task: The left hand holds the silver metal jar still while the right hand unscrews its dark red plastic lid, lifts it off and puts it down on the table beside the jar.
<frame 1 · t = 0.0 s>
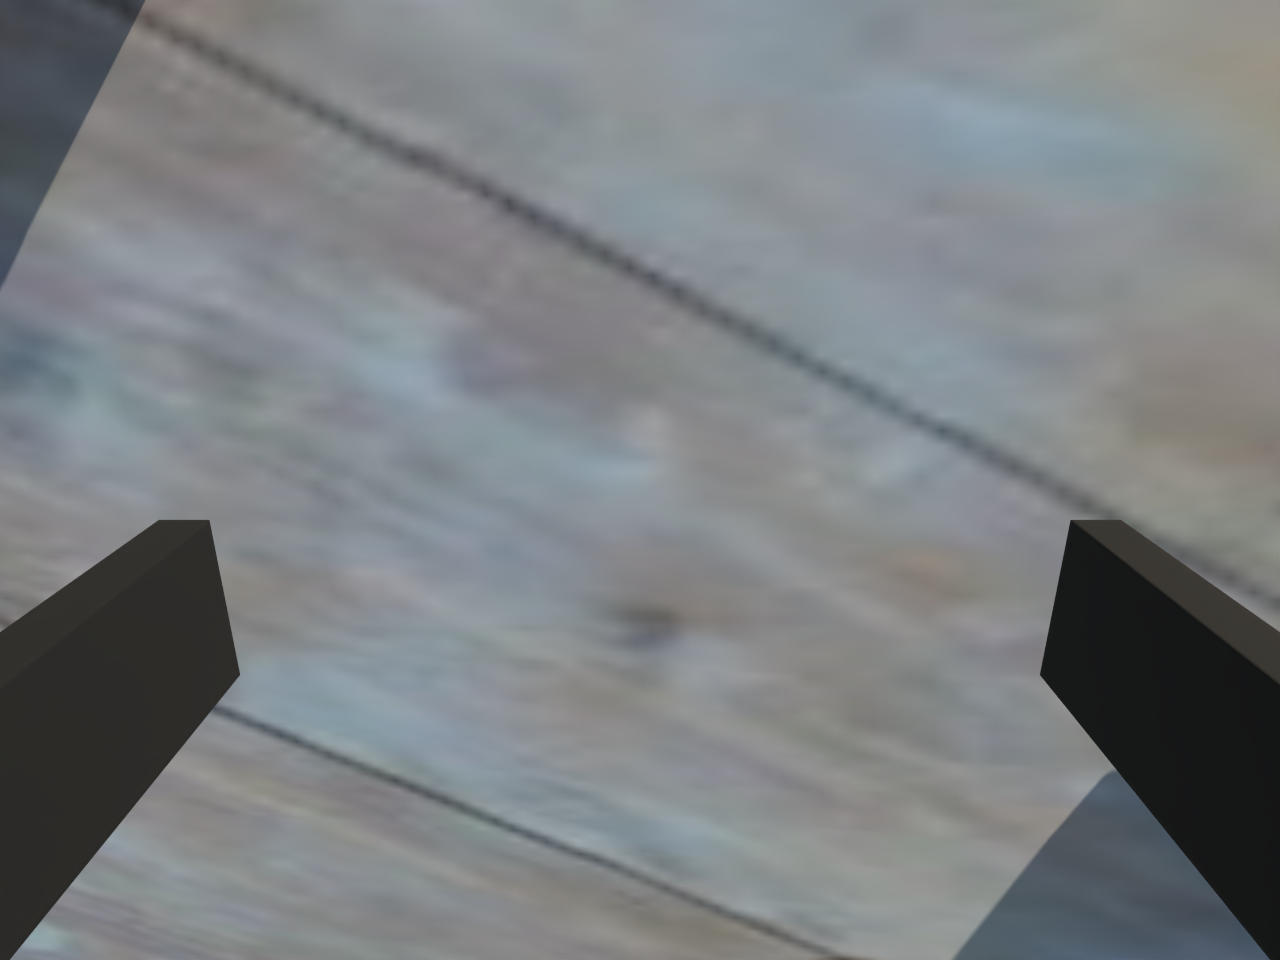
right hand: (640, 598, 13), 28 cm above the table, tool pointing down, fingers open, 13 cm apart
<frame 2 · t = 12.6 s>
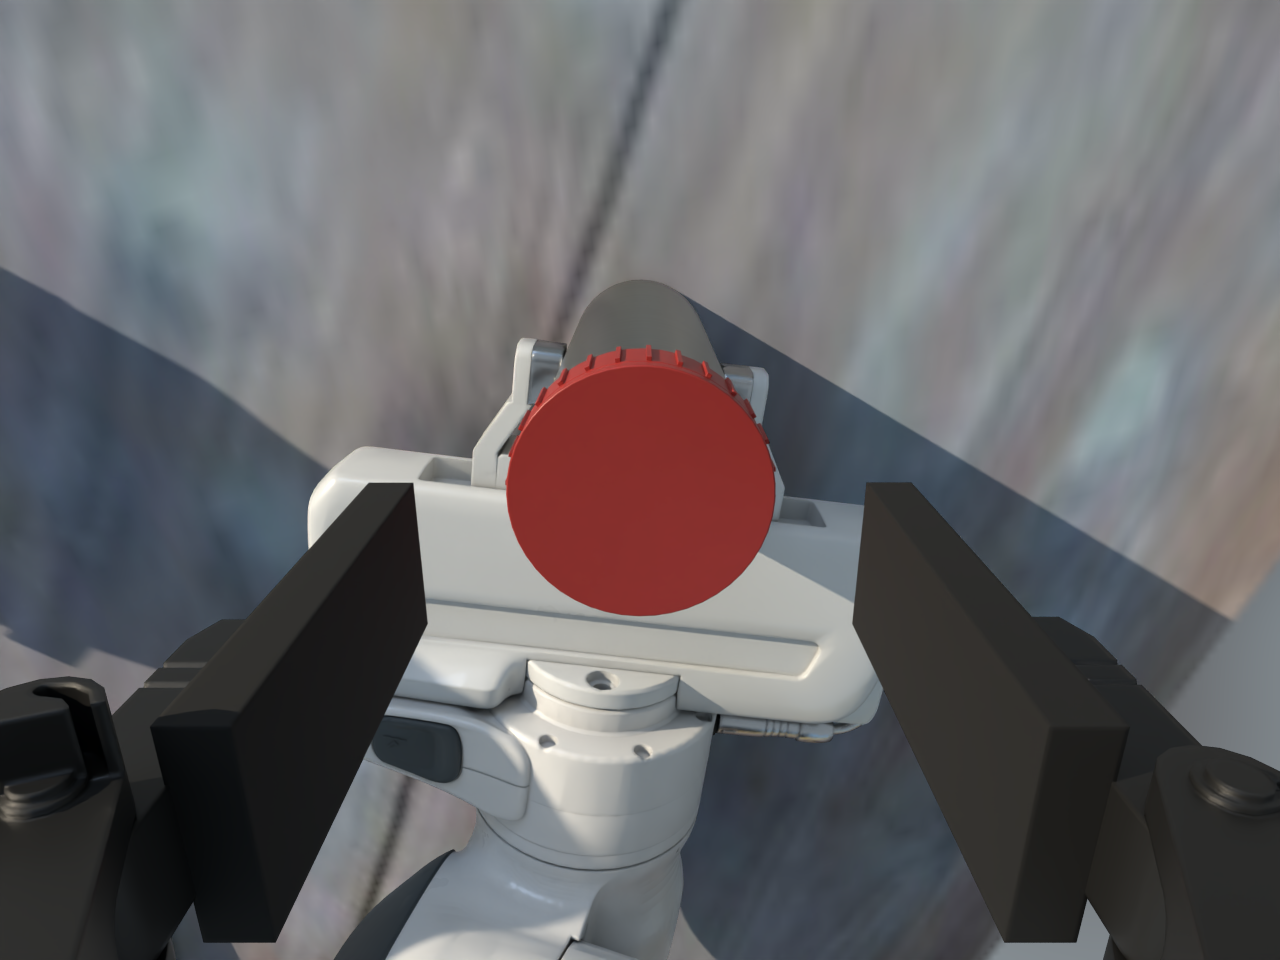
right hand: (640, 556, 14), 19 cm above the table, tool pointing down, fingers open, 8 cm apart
left hand: (642, 355, 26), fingers closed on jar, 5 cm apart
jar: (640, 346, 32), on the table, touching left hand
lid: (640, 492, 17), point 16 cm above the table, screwed on, not yet turned
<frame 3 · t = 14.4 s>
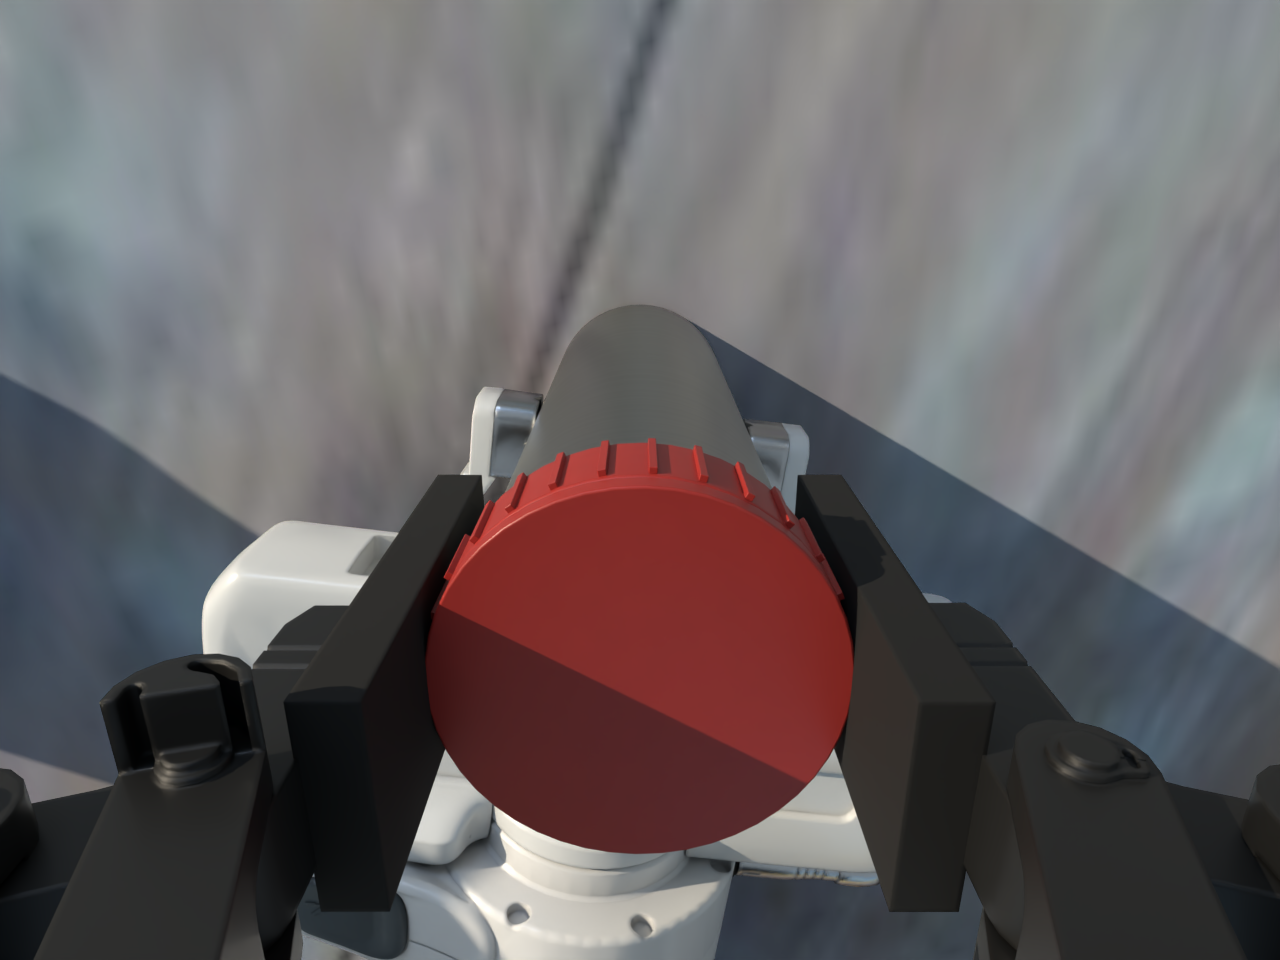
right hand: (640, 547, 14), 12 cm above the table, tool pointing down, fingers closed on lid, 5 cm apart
jar: (639, 386, 26), on the table, touching left hand
lid: (639, 672, 11), point 16 cm above the table, screwed on, not yet turned, touching right hand
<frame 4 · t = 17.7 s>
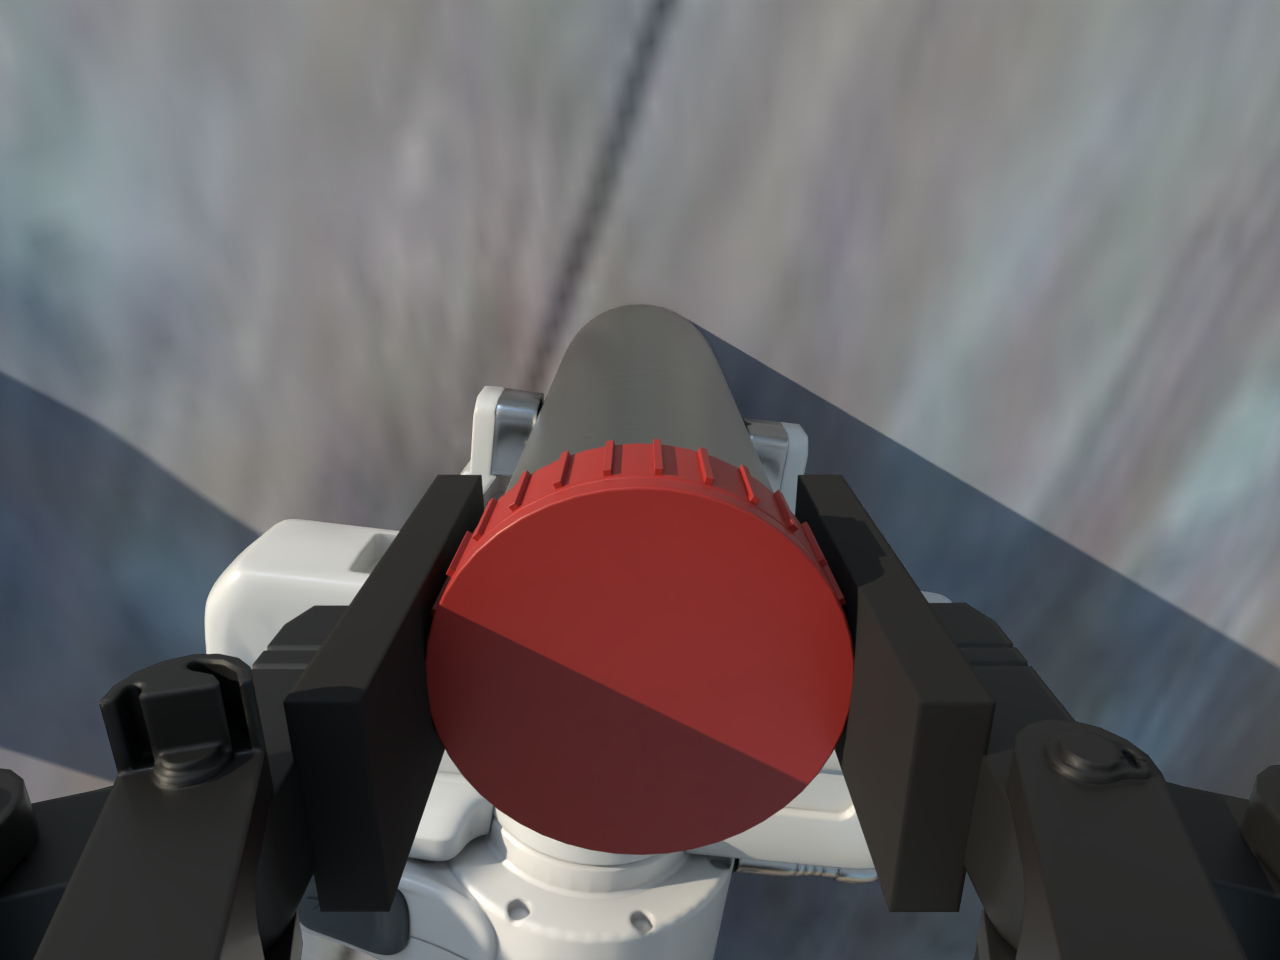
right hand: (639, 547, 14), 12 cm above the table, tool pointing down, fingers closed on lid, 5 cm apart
jar: (639, 385, 26), on the table, touching left hand
lid: (639, 673, 11), point 16 cm above the table, turned 114° so far, risen 0.1 cm, still on its thread, touching right hand
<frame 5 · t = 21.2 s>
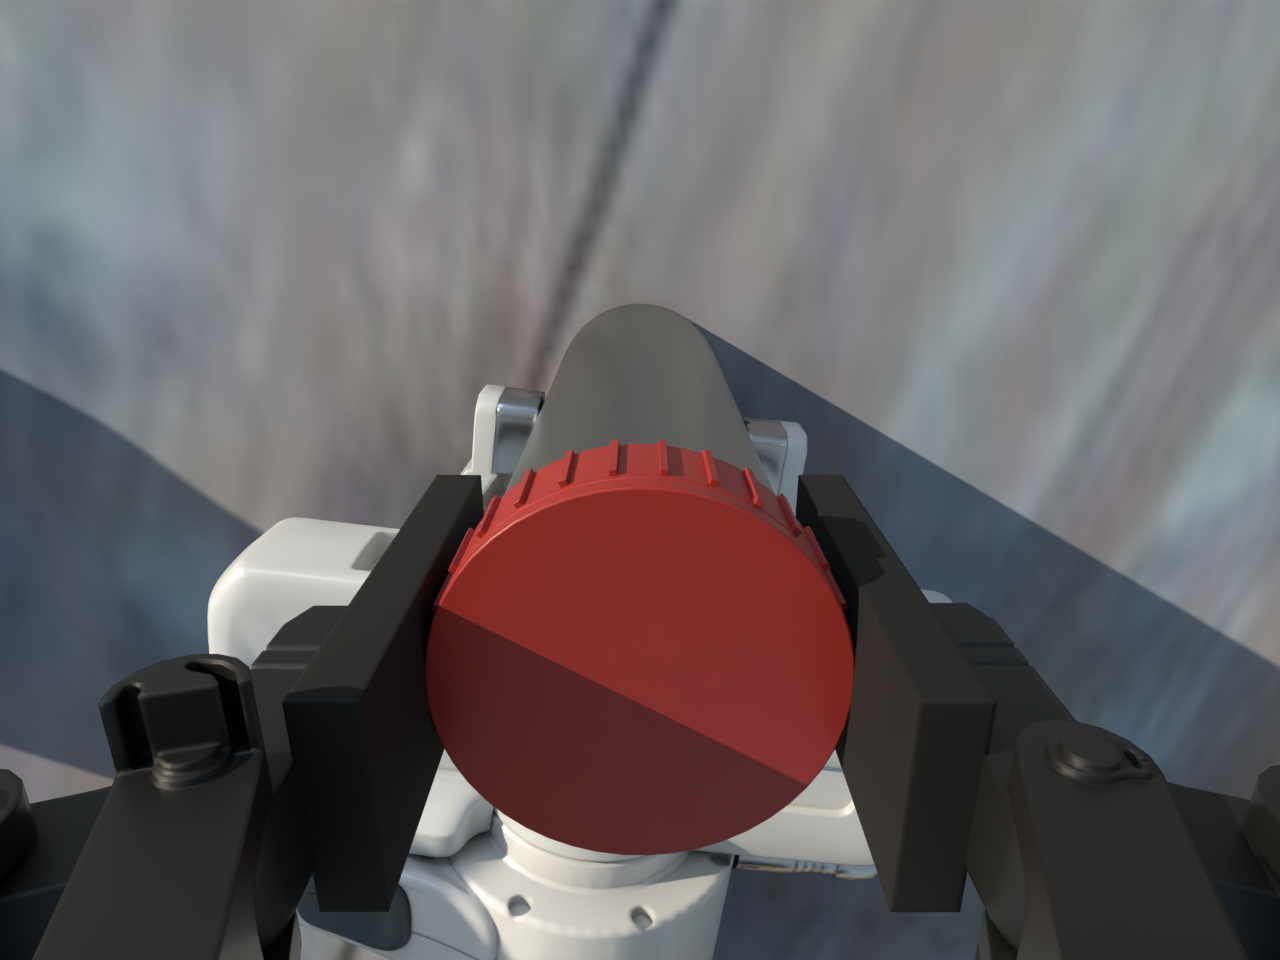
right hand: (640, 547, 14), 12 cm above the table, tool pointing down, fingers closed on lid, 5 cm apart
jar: (639, 384, 26), on the table, touching left hand
lid: (639, 673, 11), point 16 cm above the table, turned 229° so far, risen 0.3 cm, still on its thread, touching right hand
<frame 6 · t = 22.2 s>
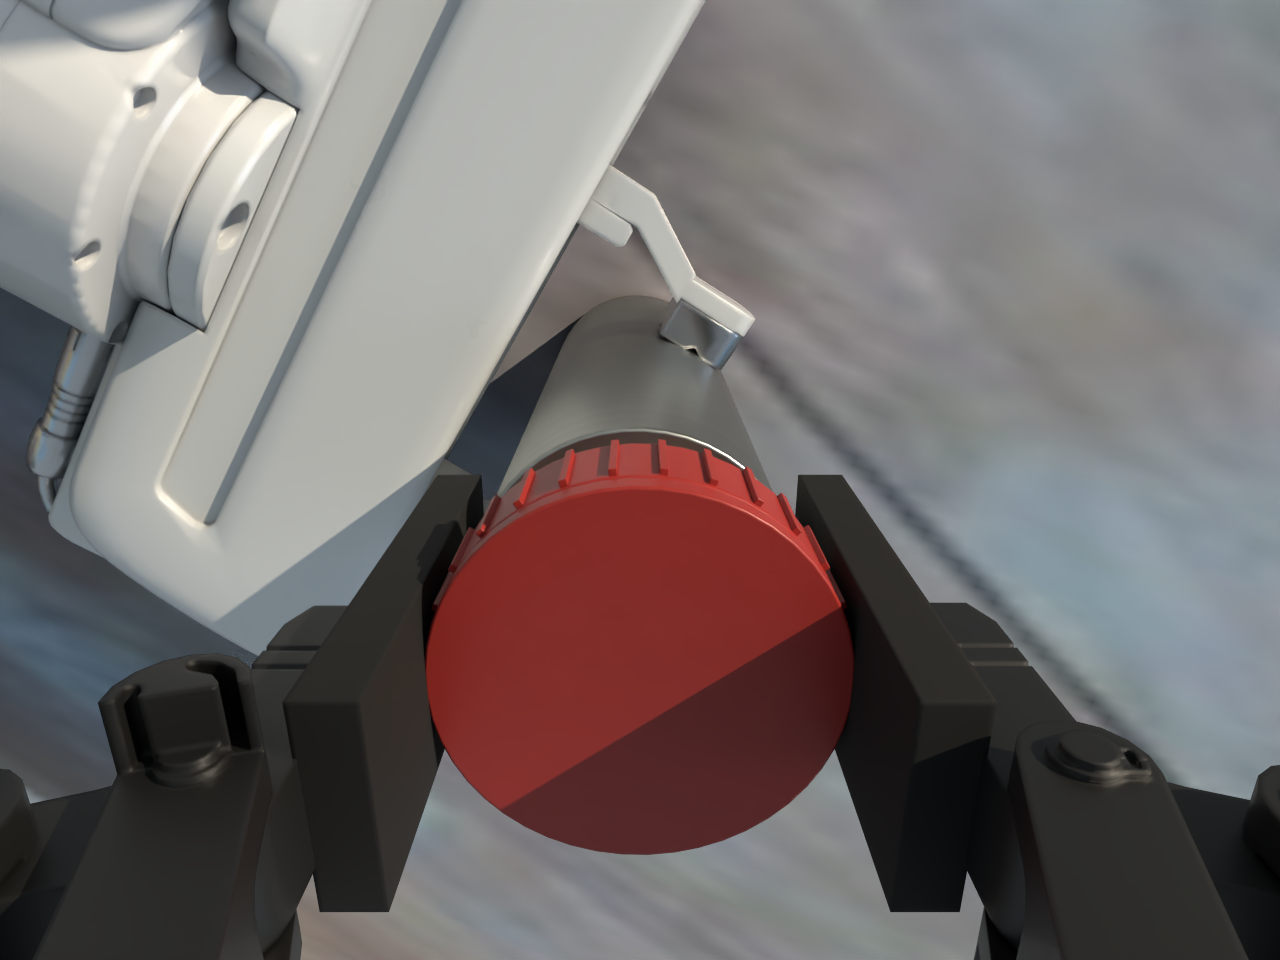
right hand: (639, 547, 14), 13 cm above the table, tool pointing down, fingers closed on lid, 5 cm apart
left hand: (666, 446, 21), fingers closed on jar, 5 cm apart
jar: (636, 375, 26), on the table, touching left hand
lid: (639, 672, 11), point 17 cm above the table, off its thread, touching right hand
when the right hand's fingers open (0 cm above the table, at t = 27.6 s): lid drops 3 cm, point 1 cm above the table.
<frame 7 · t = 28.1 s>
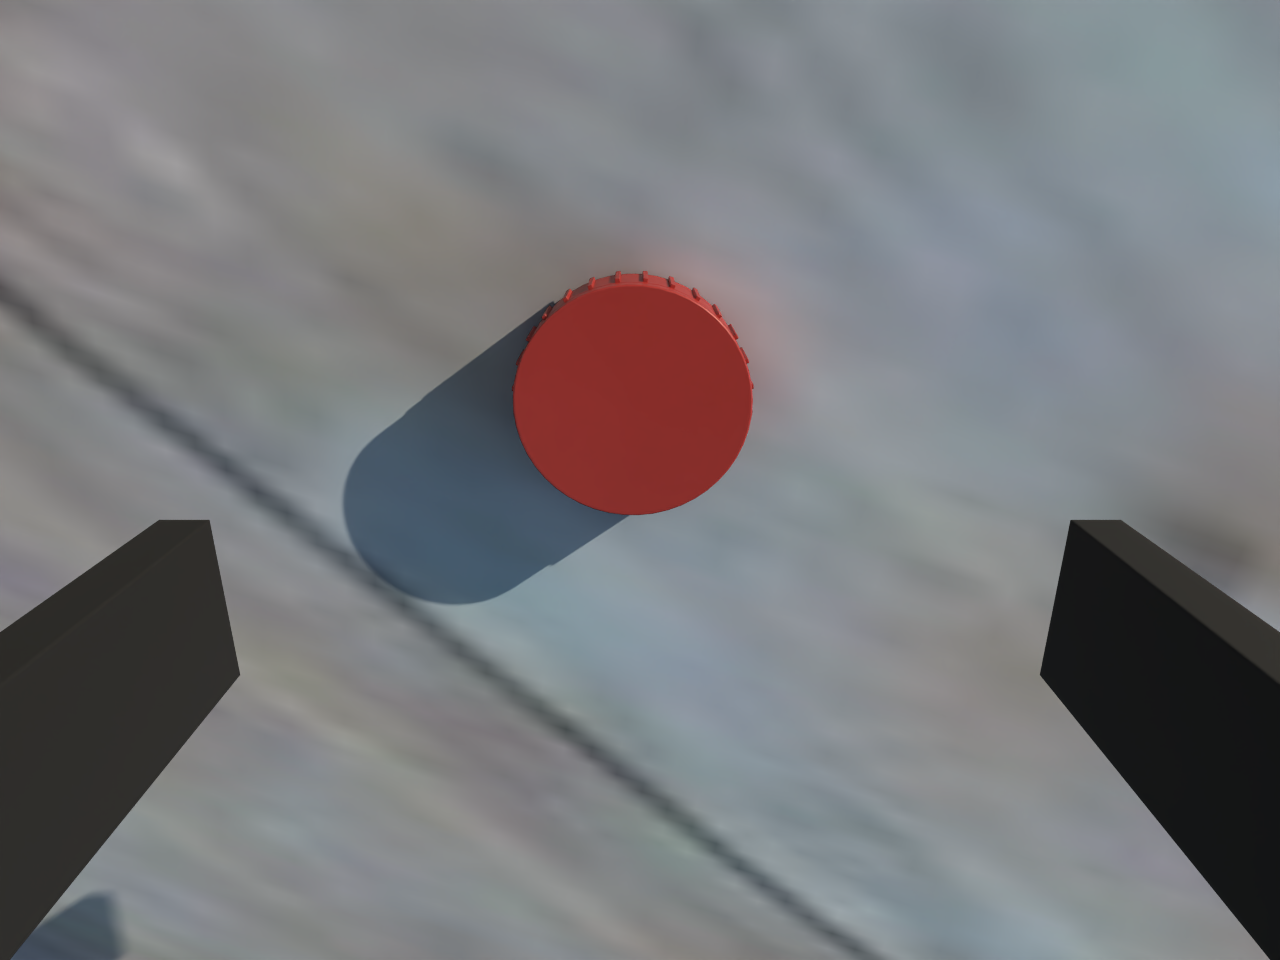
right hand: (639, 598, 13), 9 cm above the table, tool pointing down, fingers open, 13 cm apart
lid: (632, 402, 19), point 1 cm above the table, off its thread
when the left hand's fingers open (6 cm above the table, at t = 28.3 s): jar stays where it is, on the table.
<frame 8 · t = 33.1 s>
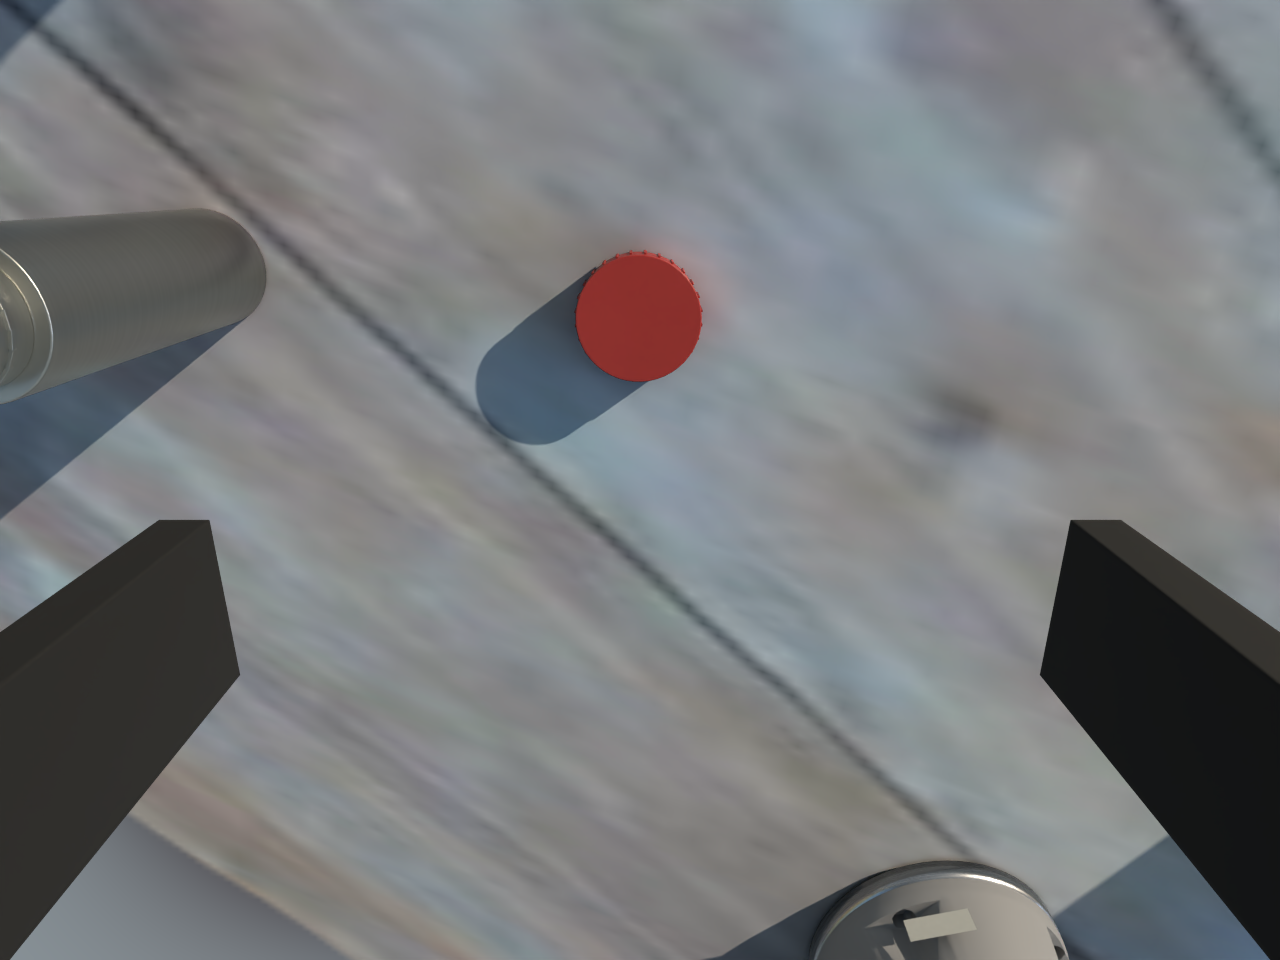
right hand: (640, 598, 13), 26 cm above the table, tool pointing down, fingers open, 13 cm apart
jar: (209, 268, 37), on the table
lid: (638, 318, 36), point 1 cm above the table, off its thread
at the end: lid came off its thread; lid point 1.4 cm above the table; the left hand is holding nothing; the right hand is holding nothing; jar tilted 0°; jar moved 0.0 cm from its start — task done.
